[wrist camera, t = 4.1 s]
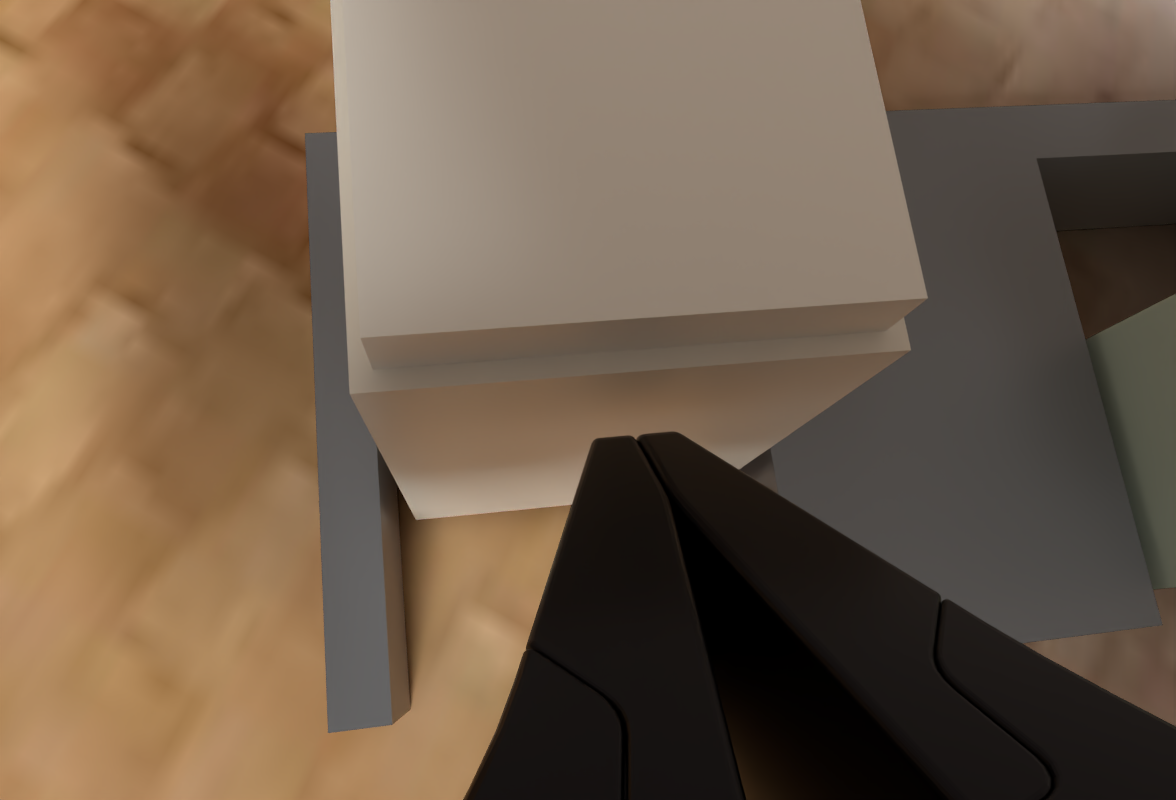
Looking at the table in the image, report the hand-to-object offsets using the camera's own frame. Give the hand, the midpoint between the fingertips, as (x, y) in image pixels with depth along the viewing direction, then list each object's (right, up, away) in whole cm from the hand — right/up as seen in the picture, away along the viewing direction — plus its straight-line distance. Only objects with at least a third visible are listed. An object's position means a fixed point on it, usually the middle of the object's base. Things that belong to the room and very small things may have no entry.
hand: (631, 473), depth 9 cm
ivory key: (-1, +1, +7) cm, 7 cm away
